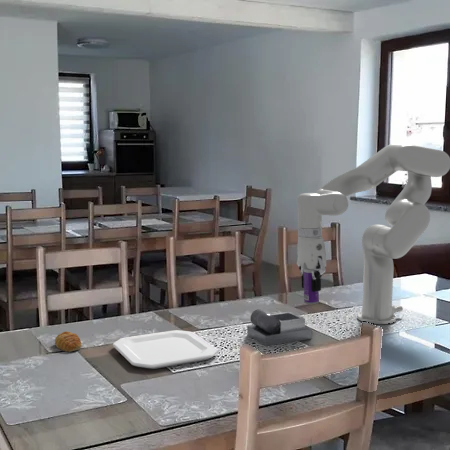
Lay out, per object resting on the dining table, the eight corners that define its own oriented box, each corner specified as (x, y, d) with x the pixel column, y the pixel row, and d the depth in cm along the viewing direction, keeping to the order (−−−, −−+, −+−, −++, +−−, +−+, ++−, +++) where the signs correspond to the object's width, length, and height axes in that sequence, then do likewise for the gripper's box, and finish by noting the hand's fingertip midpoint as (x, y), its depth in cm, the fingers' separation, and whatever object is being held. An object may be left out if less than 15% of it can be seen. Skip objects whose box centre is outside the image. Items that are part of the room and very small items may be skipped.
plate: (137, 376, 154) (137, 367, 154) (108, 346, 176) (108, 339, 176) (224, 360, 166) (224, 352, 165) (187, 335, 187) (187, 328, 187)
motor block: (291, 328, 193) (292, 303, 192) (311, 338, 184) (312, 312, 183) (247, 335, 186) (247, 309, 185) (265, 346, 177) (266, 319, 176)
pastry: (87, 350, 173) (86, 337, 172) (64, 355, 169) (63, 341, 168) (74, 341, 180) (74, 328, 180) (52, 345, 177) (51, 333, 176)
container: (318, 304, 193) (317, 257, 191) (303, 304, 194) (302, 257, 192) (319, 300, 198) (318, 254, 195) (304, 300, 199) (303, 254, 196)
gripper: (336, 234, 187) (337, 293, 189) (304, 228, 202) (306, 282, 204) (315, 237, 183) (317, 296, 186) (285, 230, 198) (286, 285, 201)
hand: (311, 288), depth 195 cm, fingers closed on container, 4 cm apart
